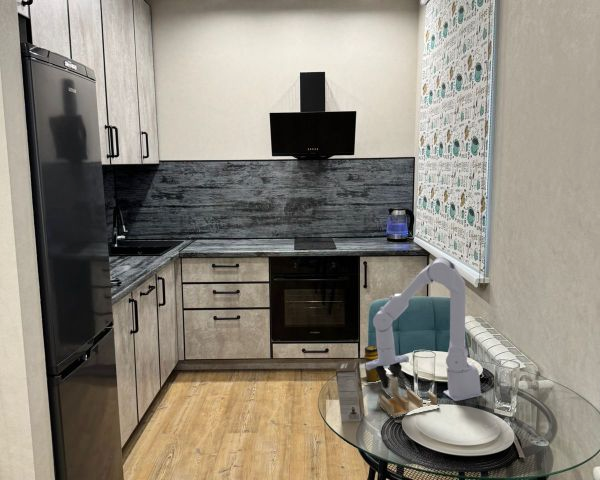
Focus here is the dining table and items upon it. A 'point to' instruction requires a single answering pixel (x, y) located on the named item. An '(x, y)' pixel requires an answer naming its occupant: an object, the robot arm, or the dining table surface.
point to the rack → (404, 402)
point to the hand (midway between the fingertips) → (389, 386)
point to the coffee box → (350, 390)
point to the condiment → (371, 374)
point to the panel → (391, 383)
